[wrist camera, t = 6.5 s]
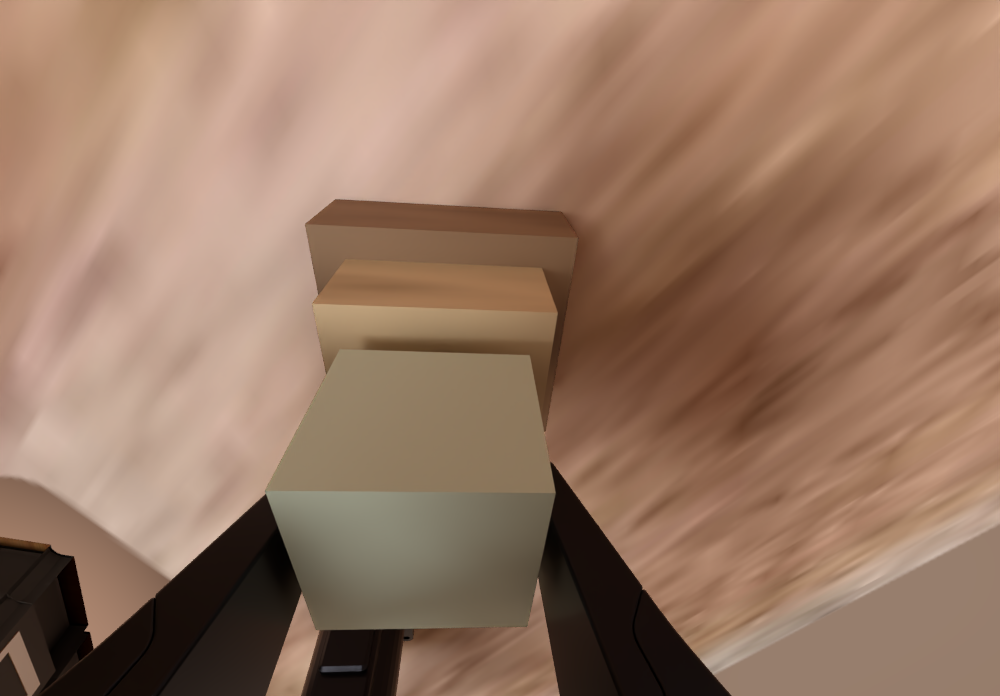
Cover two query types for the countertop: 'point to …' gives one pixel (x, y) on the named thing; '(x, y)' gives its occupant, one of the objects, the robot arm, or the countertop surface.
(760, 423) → the countertop surface
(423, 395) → the cap block
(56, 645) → the treasure chest
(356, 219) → the walnut base
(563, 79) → the countertop surface
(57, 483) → the countertop surface
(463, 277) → the oak middle block
